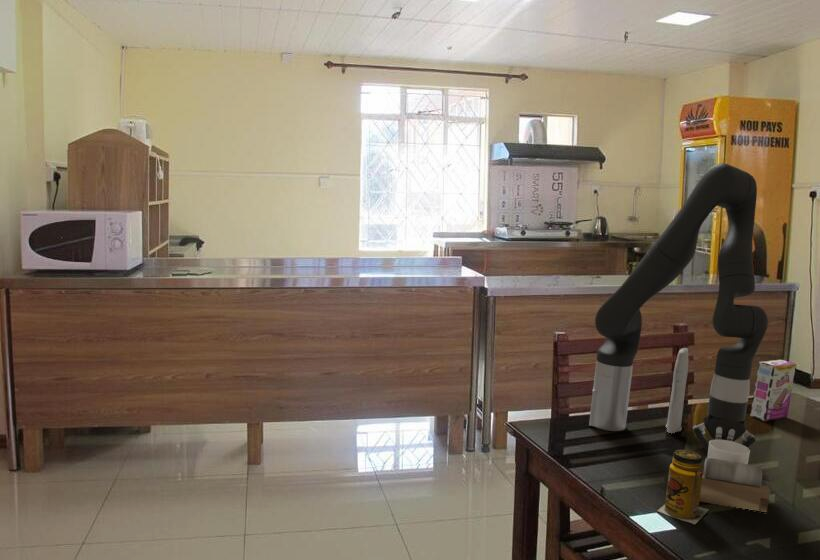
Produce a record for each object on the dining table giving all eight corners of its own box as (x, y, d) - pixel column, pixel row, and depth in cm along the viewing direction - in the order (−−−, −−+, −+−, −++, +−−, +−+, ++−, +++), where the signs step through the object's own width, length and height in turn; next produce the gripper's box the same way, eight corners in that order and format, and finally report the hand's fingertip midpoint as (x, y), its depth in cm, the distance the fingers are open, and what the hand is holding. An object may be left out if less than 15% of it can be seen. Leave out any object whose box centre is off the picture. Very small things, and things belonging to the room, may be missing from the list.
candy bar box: (765, 422, 194) (774, 366, 192) (749, 416, 198) (757, 361, 196) (788, 417, 200) (797, 363, 197) (772, 412, 204) (780, 358, 202)
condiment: (656, 511, 134) (663, 453, 132) (671, 498, 140) (679, 442, 138) (694, 525, 129) (703, 465, 127) (708, 511, 135) (717, 453, 134)
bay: (683, 468, 156) (688, 430, 155) (752, 480, 152) (758, 441, 151) (691, 502, 139) (697, 459, 138) (770, 516, 135) (776, 473, 134)
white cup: (741, 488, 148) (747, 443, 146) (745, 503, 140) (752, 456, 139) (701, 480, 150) (707, 436, 149) (703, 494, 143) (710, 449, 141)
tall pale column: (669, 421, 188) (679, 343, 185) (685, 425, 186) (695, 346, 183) (661, 432, 179) (671, 350, 176) (677, 436, 177) (688, 353, 174)
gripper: (697, 395, 147) (687, 472, 149) (766, 405, 143) (753, 484, 146) (694, 386, 154) (684, 459, 156) (759, 395, 150) (747, 470, 153)
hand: (717, 471), depth 151 cm, fingers closed
